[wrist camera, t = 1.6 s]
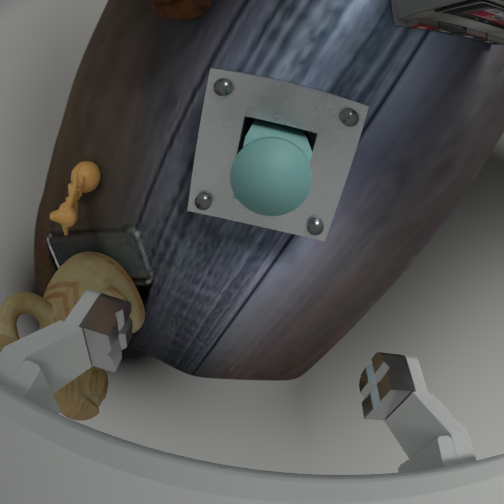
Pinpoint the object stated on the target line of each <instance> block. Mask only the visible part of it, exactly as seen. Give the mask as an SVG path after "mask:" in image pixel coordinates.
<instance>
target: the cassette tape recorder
mask: <svg viewBox="0 0 504 504" xmlns="http://www.w3.org/2000/svg"><path fill="white" fill-rule="evenodd" d="M391 6H392V13H393V21H394V25H395V26H404V27H411V28H418V29H425V30H431V31H437V32H443V33H448V34H453V35H457V36H462V37H466V38H470V39H475V40H478V41H482V42H486V43H489V44H494V45H498V44H501V45H504V0H391Z"/></svg>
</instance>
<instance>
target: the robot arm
mask: <svg viewBox="0 0 504 504" xmlns="http://www.w3.org/2000/svg"><path fill="white" fill-rule="evenodd" d="M131 311H132V308H131V303H130V302H129V301H125V300H122V299H119V298H116V297H113V296H109V295H106V294H103V293H99V292H96V291H93V290H90V289H89V290H87V291H85V292H84V294H83V295H82V297H81V298H80V299H79V301H78V302H77V304H76V305H75V306H74V308H73V309H72V311H71V312H70V314H69V315H68V316H67V318H66V319H65V321H61V320H60V321H58V322H56V323H53V324H51V325H49V326H47V327H45V328H43V329H41V330H39V331H37V332H34V333H32V334H30V335H28V336H26V337H24V338H21V339H19V340H17V341H15V342H13V343H11V344H9V345H7V346H5V347H4V348H3V349H2V351H1V352H0V504H504V454H502V455H498V456H494V457H490V458H486V459H482V460H477V461H476V458H475V454H474V450H473V447H472V443H471V439H470V436H469V432H468V431H467V430H466V429H465V428H464V427H463V426H462V425H461V424H460V423H459V422H458V420H457V419H456V418H455V417H454V416H453V415H452V414H451V413H450V412H449V411H448V410H447V409H446V408H445V407H444V405H443V404H442V403H441V402H440V401H439V400H438V399H437V398H436V397H435V396H434V395H433V394H432V393H430V392H428V391H427V387H426V384H425V381H424V378H423V374H422V371H421V368H420V365H419V362H418V359H417V358H416V357H415V356H409V355H400V354H390V353H381V352H378V353H376V354H375V355H374V356H373V358H372V364H371V365H369V366H367V367H366V368H365V369H364V371H363V372H362V374H361V378H360V384H359V387H360V393H361V394H362V395H363V396H364V398H365V399H364V400H363V402H362V407H363V414H364V419H374V420H385V423H386V424H387V426H388V427H389V429H390V430H391V432H392V433H393V435H394V436H395V438H396V439H397V441H398V442H399V444H400V445H401V447H402V448H403V450H404V451H405V453H406V454H407V456H408V457H409V460H407V461H406V462H404V463H403V464H401V465H400V467H399V468H398V471H399V473H388V474H370V475H314V474H313V475H312V474H296V473H283V472H273V471H264V470H255V469H248V468H241V467H235V466H228V465H222V464H217V463H212V462H207V461H202V460H197V459H192V458H188V457H184V456H179V455H175V454H171V453H167V452H163V451H160V450H156V449H153V448H149V447H146V446H142V445H139V444H136V443H133V442H130V441H127V440H123V439H121V438H118V437H115V436H112V435H109V434H106V433H103V432H101V431H98V430H95V429H93V428H90V427H88V426H85V425H83V424H80V423H78V422H75V421H73V420H71V419H68V418H66V417H64V416H62V415H59V412H60V410H61V409H60V406H59V404H58V403H57V401H56V399H55V397H54V395H53V394H54V393H55V392H56V391H58V390H59V389H61V388H62V387H64V386H65V385H66V384H68V383H69V382H71V381H72V380H74V379H75V378H76V377H78V376H79V375H81V374H82V373H84V372H85V371H86V370H88V369H89V368H91V367H92V366H95V367H98V368H101V369H105V370H108V371H111V372H116V369H117V367H118V365H119V363H120V361H121V359H122V353H121V350H123V349H125V348H126V347H127V345H128V344H129V341H130V338H131V334H132V328H133V323H132V319H131V318H130V317H129V315H130V313H131ZM91 365H92V366H91Z"/></svg>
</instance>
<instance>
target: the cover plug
mask: <svg viewBox="0 0 504 504" xmlns="http://www.w3.org/2000/svg"><path fill="white" fill-rule="evenodd" d="M311 156H312V150H311V147H310V145H309V142H308V140H307V137H306V134H305V132H304V130H303V129H299V128H295V127H291V126H287V125H283V124H278V123H274V122H270V121H265V120H261V119H256V118H255V120H254V122H253V124H252V126H251V127H250V129H249V131H248V133H247V135H246V136H245V140H244V145H243V148H242V149H241V150H240V151H239V153H238V154H237V156H236V157H235V159H234V161H233V164H232V167H231V171H230V183H231V187H232V190H233V192H234V194H233V198H234V199H238V200H239V202H240V203H241V204H242V205H243V206H244V207H246V208H247V209H249V210H250V211H252V212H254V213H257V214H260V215H265V216H279V215H284V214H287V213H289V212H291V211H292V212H295V211H296V208H298V207H299V206H300V205H301V204H302V203H303V202H304V201H305V199H306V198H307V196H308V195H309V192H310V190H311V186H312V170H311V166H310V160H311Z"/></svg>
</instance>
